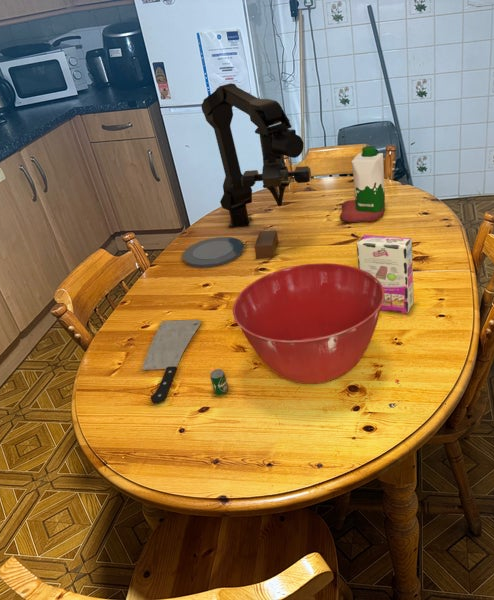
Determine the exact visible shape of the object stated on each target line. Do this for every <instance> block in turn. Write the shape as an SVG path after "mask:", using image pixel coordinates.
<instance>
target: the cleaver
mask: <svg viewBox="0 0 494 600" xmlns="http://www.w3.org/2000/svg"><path fill="white" fill-rule="evenodd" d="M201 326H202V322H201V321H200V320H199V319H177V320H164V321H161V323H160V325H159V327H158V329H157V331H156V333H155V334H154V337H153V338H152V341H151V344H150V346H149V348H148V350H147V353H146V356H145V358H144V362H143V364H142V367H141V370H142V371H152V370H153V371H155V370H165V371H164V374H163V376H162V379H161V381H160V383H159V386H158V387H157V389H156V391H155V392H154V393H153V394H152V395H150V400H151V402H152V403H153V404H161V403H163V401H165V400H166V398H167V395H168V394H169V390H170V387H171V385H172V382H173V380H174V377H175V375H176V373H177V369H178V366H179V363H180V361H181V359H182V356H183V355H184V353H185V351H186V349H187V347H188V345H189V344H190V343H191V340H192V339H193V338H194V336H195V334H196V333H197V331H198V330H199V328H200V327H201Z"/></svg>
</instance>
